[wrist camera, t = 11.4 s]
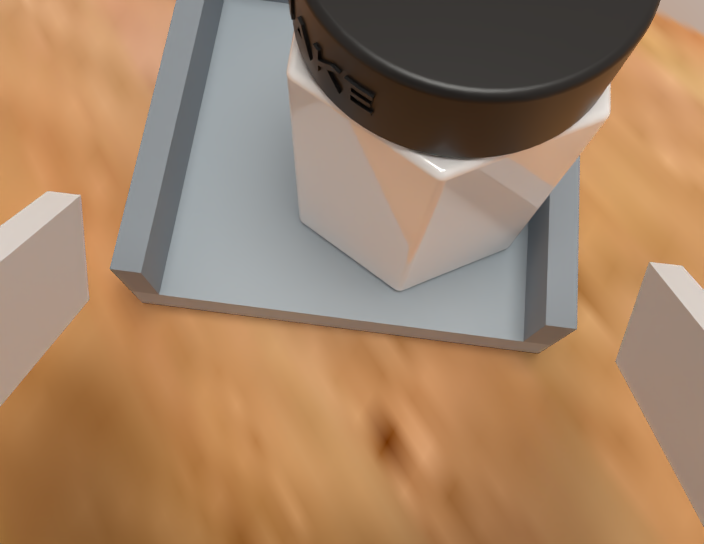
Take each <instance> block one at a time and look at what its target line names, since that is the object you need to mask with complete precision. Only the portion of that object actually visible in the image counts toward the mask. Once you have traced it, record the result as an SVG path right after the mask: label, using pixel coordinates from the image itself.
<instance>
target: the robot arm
mask: <svg viewBox="0 0 704 544" xmlns="http://www.w3.org/2000/svg"><path fill="white" fill-rule="evenodd" d="M88 301H89V291H88V278H87V266H86V253H85V241H84V228H83V216H82V203H81V195H76V194H68V193H59V192H51V191H47V192H46V193H44V194H43V195H42V196H40V197H39V198H38V199H36V200H35V201H34V202H32V203H31V204H29V205H28V206H27V207H25V208H24V209H23V210H21V211H20V212H19V213H17V214H16V215H15V216H13V217H12V218H11V219H9V220H8V221H6V222H5V223H4V224H2V225H1V226H0V406H1V405H2V404H3V403H4V402H5V400H6V399H7V398H8V397H9V396H10V394H11V393H12V392H13V391H14V390H15V388H16V387H17V386H18V385H19V384H20V382H21V381H22V380H23V379H24V378H25V376H26V375H27V374H28V373H29V371H30V370H31V369H32V368H33V367H34V365H35V364H36V363H37V362H38V361H39V359H40V358H41V357H42V356H43V355H44V353H45V352H46V351H47V350H48V349H49V347H50V346H51V345H52V344H53V343H54V341H55V340H56V339H57V338H58V337H59V335H60V334H61V333H62V332H63V331H64V329H65V328H66V327H67V326H68V325H69V323H70V322H71V321H72V320H73V319H74V317H75V316H76V315H77V314H78V313H79V311H80V310H81V309H82V308H83V307H84V305H85V304H86V303H87V302H88ZM615 362H616V364H617V365H618V367H619V369H620V371H621V373H622V375H623V377H624V379H625V380H626V382H627V384H628V386H629V388H630V390H631V392H632V394H633V395H634V397H635V399H636V401H637V403H638V405H639V407H640V409H641V410H642V412H643V414H644V416H645V418H646V420H647V422H648V423H649V425H650V427H651V429H652V431H653V433H654V435H655V437H656V438H657V440H658V442H659V444H660V446H661V448H662V450H663V452H664V453H665V455H666V457H667V459H668V461H669V463H670V465H671V467H672V468H673V470H674V472H675V474H676V476H677V478H678V480H679V482H680V483H681V485H682V487H683V489H684V491H685V493H686V495H687V497H688V498H689V500H690V502H691V504H692V506H693V508H694V510H695V511H696V513H697V515H698V517H699V519H700V521H701V523H702V525H703V526H704V290H703V289H702V287H701V286H700V285H699V284H698V283H697V282H696V281H695V280H694V278H693V277H692V276H691V275H690V274H689V273H688V272H687V271H686V270H685V268H684V267H683V266H679V265H671V264H662V263H654V262H649V264H648V267H647V270H646V273H645V276H644V279H643V282H642V285H641V287H640V290H639V293H638V296H637V299H636V302H635V305H634V308H633V311H632V314H631V317H630V320H629V323H628V326H627V329H626V332H625V335H624V338H623V340H622V343H621V346H620V349H619V352H618V355H617V358H616V361H615Z"/></svg>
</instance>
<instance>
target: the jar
mask: <svg viewBox="0 0 704 544" xmlns="http://www.w3.org/2000/svg"><path fill="white" fill-rule="evenodd" d="M288 2H289V10H290V16H291V20H293V27H294V32H293V37H292V43H291V48H290V54H289V59H288V65H287V71H286V74H287V86H288V97H289V108H290V120H291V131H292V142H293V154H294V165H295V176H296V188H297V199H298V210H299V218H300V220H301V221H302V223H304V224H305V225H306V226H308V227H309V228H311V229H312V230H313V231H315V232H316V233H318V234H319V235H320V236H322V237H323V238H324V239H326V240H327V241H329V242H330V243H331V244H333V245H334V246H335V247H337V248H338V249H340V250H341V251H342V252H344V253H345V254H346V255H348V256H349V257H351V258H352V259H353V260H355V261H356V262H358V263H359V264H360V265H362V266H363V267H364V268H366V269H367V270H369V271H370V272H371V273H373V274H374V275H375V276H377V277H378V278H380V279H381V280H382V281H384V282H385V283H386V284H388V285H389V286H391V287H392V288H393V289H395V290H397V291H403V290H405V289H408V288H410V287H412V286H415V285H417V284H420V283H422V282H425V281H427V280H430V279H432V278H435V277H437V276H440V275H442V274H445V273H447V272H450V271H452V270H455V269H457V268H460V267H462V266H465V265H467V264H470V263H472V262H475V261H477V260H480V259H482V258H485V257H487V256H490V255H492V254H495V253H497V252H500V251H502V250H505V249H507V248H509V247H510V245H511V244H512V243H513V242H514V240H515V239H516V238H517V236H518V235H519V234H520V232H521V231H522V230H523V228H524V227H525V226H526V225H527V223H528V222H529V221H530V219H531V218H532V217H533V215H534V214H535V213H536V212H537V210H538V209H539V208H540V206H541V205H542V204H543V202H544V201H545V200H546V198H547V197H548V196H549V195H550V193H551V192H552V191H553V189H554V188H555V187H556V185H557V184H558V183H559V182H560V180H561V179H562V178H563V176H564V175H565V174H566V172H567V171H568V170H569V169H570V167H571V166H572V165H573V163H574V162H575V161H576V159H577V158H578V157H579V155H580V154H581V153H582V152H583V150H584V149H585V148H586V146H587V145H588V144H589V142H590V141H591V140H592V139H593V137H594V136H595V135H596V133H597V132H598V131H599V129H600V128H601V127H602V125H603V124H604V123H605V122H606V120H607V119H608V118H609V115H610V112H611V81H612V80H613V78H614V77H615V75H616V74H617V73H618V71H619V70H620V68H621V67H622V66H623V64H624V63H625V61H626V60H627V58H628V57H629V56H630V54H631V53H632V51H633V50H634V49H635V47H636V46H637V44H638V43H639V41H640V40H641V39H642V37H643V36H644V34H645V33H646V31H647V29H648V28H649V26H650V24H651V22H652V20H653V18H654V16H655V14H656V11H657V8H658V6H659V3H660V0H288Z"/></svg>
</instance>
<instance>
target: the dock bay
mask: <svg viewBox="0 0 704 544" xmlns="http://www.w3.org/2000/svg"><path fill="white" fill-rule="evenodd" d="M293 32H294V27H293V20H291V16H290V10H289V2H288V0H176V4H175V8H174V12H173V16H172V20H171V24H170V28H169V32H168V36H167V40H166V44H165V48H164V52H163V56H162V60H161V64H160V68H159V72H158V77H157V81H156V85H155V89H154V93H153V97H152V101H151V105H150V109H149V113H148V117H147V121H146V125H145V129H144V133H143V137H142V141H141V145H140V149H139V153H138V157H137V161H136V165H135V169H134V173H133V177H132V181H131V185H130V189H129V193H128V197H127V201H126V205H125V210H124V214H123V218H122V222H121V226H120V230H119V234H118V238H117V242H116V246H115V250H114V254H113V258H112V262H111V266H110V270H111V271H112V272H113V273H114V274H115V275H116V276H117V277H118V278H119V279H120V280H121V281H122V282H123V283H124V284H125V285H126V286H127V287H128V288H129V289H130V290H131V291H132V293H133V294H134V295H135V296H136V297H137V298H138V299H139V300H140V301H141V302H143V303H151V304H159V305H167V306H174V307H182V308H190V309H198V310H205V311H213V312H221V313H229V314H237V315H244V316H252V317H260V318H268V319H275V320H283V321H291V322H299V323H306V324H314V325H322V326H330V327H338V328H345V329H353V330H361V331H369V332H376V333H384V334H392V335H400V336H407V337H415V338H423V339H431V340H439V341H446V342H454V343H462V344H470V345H477V346H485V347H493V348H501V349H508V350H516V351H524V352H532V353H540V352H541V351H543V350H545V349H546V348H548V347H549V346H551V345H553V344H554V343H556V342H557V341H559V340H560V339H562V338H564V337H565V336H567V335H568V334H570V333H572V332H573V331H575V330H576V329H577V292H578V234H579V175H580V155H579V157H578V158H577V159H576V161H575V162H574V163H573V165H572V166H571V167H570V169H569V170H568V171H567V172H566V174H565V175H564V176H563V178H562V179H561V180H560V182H559V183H558V184H557V185H556V187H555V188H554V189H553V191H552V192H551V193H550V195H549V196H548V197H547V198H546V200H545V201H544V202H543V204H542V205H541V206H540V208H539V209H538V210H537V212H536V213H535V214H534V215H533V217H532V218H531V219H530V221H529V222H528V223H527V225H526V226H525V227H524V228H523V230H522V231H521V232H520V234H519V235H518V236H517V238H516V239H515V240H514V242H513V243H512V244H511V245H510V247H509V248H507V249H505V250H502V251H500V252H497V253H495V254H492V255H490V256H487V257H485V258H482V259H480V260H477V261H475V262H472V263H470V264H467V265H465V266H462V267H460V268H457V269H455V270H452V271H450V272H447V273H445V274H442V275H440V276H437V277H435V278H432V279H430V280H427V281H425V282H422V283H420V284H417V285H415V286H412V287H410V288H408V289H405V290H403V291H397V290H395V289H393V288H392V287H391V286H389V285H388V284H386V283H385V282H384V281H382V280H381V279H380V278H378V277H377V276H375V275H374V274H373V273H371V272H370V271H369V270H367V269H366V268H364V267H363V266H362V265H360V264H359V263H358V262H356V261H355V260H353V259H352V258H351V257H349V256H348V255H346V254H345V253H344V252H342V251H341V250H340V249H338V248H337V247H335V246H334V245H333V244H331V243H330V242H329V241H327V240H326V239H324V238H323V237H322V236H320V235H319V234H318V233H316V232H315V231H313V230H312V229H311V228H309V227H308V226H306V225H305V224H304V223H302V221H301V220H300V218H299V210H298V199H297V188H296V176H295V165H294V154H293V142H292V131H291V120H290V108H289V97H288V86H287V74H286V71H287V65H288V59H289V54H290V48H291V43H292V37H293Z"/></svg>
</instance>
